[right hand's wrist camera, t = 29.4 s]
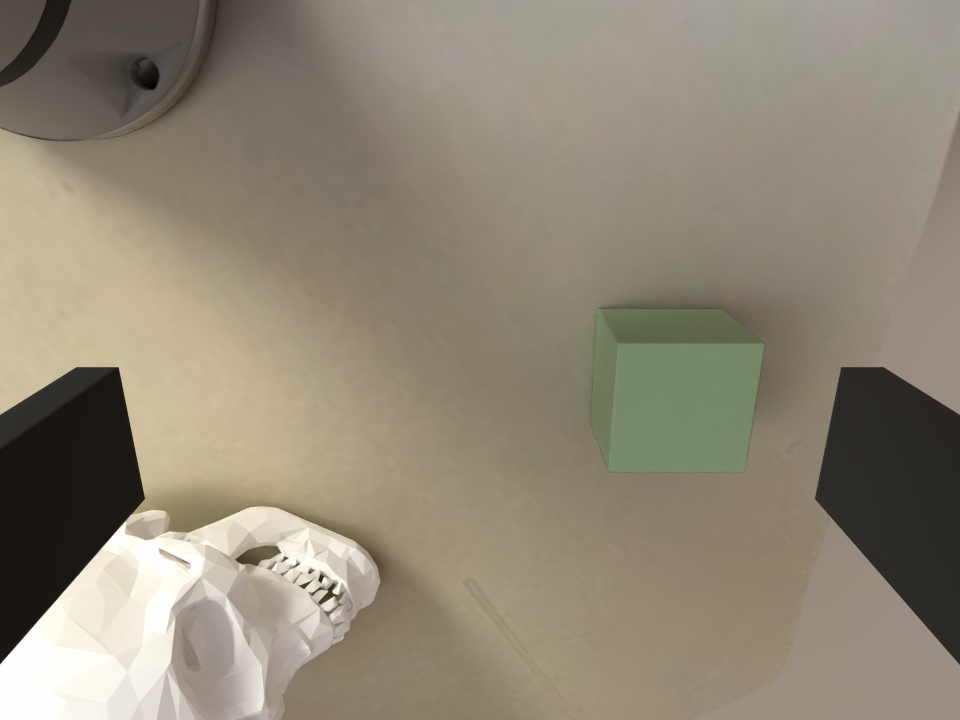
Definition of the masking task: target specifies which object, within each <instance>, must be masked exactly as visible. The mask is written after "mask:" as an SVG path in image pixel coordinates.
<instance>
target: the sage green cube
mask: <svg viewBox="0 0 960 720" xmlns="http://www.w3.org/2000/svg"><path fill="white" fill-rule="evenodd" d="M764 348H765V343H764V342H763V341H762V340H760V339H759V338H758V337H757V336H755V335H754V334H753V333H752V332H750V331H749V330H748V329H747V328H745V327H744V326H743V325H742V324H740V323H739V322H738V321H737V320H735V319H734V318H733V317H732V316H730V315H729V314H728V313H727V312H726V311H724V310H723V309H598V310H597V322H596V337H595V353H594V369H593V385H592V401H591V417H590V422H591V425H592V428H593V431H594V434H595V436H596V439H597V442H598V445H599V448H600V450H601V453H602V456H603V459H604V461H605V464H606V467H607V470H608V472H610V473H744V472H745V470H746V463H747V457H748V450H749V444H750V438H751V431H752V425H753V418H754V412H755V405H756V399H757V393H758V386H759V380H760V373H761V367H762V361H763V354H764Z"/></svg>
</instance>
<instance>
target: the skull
mask: <svg viewBox="0 0 960 720" xmlns="http://www.w3.org/2000/svg"><path fill="white" fill-rule="evenodd" d="M170 520H171V518H170V516H169V515H168V514H167V513H166V511H157V510H151V511H147V512H143V513H139V514H133V515H130V517H129V518H128V519H127V520H126V521H125V522H124V523H123V525H122V526H121V527H120V528H119V529H118V530H117V531H116V533H115V534H114V535H113V536H112V537H111V538H110V540H109V541H108V542H107V543H106V544H105V545H104V546H103V548H102V549H101V550H100V551H99V552H98V553H97V554H96V556H95V557H94V558H93V559H92V560H91V561H90V562H89V564H88V565H87V566H86V567H85V568H84V569H83V570H82V572H81V573H80V574H79V575H78V576H77V577H76V578H75V580H74V581H73V582H72V583H71V584H70V585H69V586H68V588H67V589H66V590H65V591H64V592H63V593H62V594H61V596H60V597H59V598H58V599H57V600H56V601H55V603H54V604H53V605H52V606H51V607H50V608H49V609H48V611H47V612H46V613H45V614H44V615H43V616H42V617H41V619H40V620H39V621H38V622H37V623H36V624H35V625H34V627H33V628H32V629H31V630H30V631H29V632H28V633H27V635H26V636H25V637H24V638H23V639H22V640H21V641H20V643H19V644H18V645H17V646H16V647H15V648H14V649H13V651H12V652H11V653H10V654H9V655H8V656H7V657H6V659H5V660H4V661H3V662H2V663H1V664H0V720H280V719H281V717H282V716H283V714H284V712H285V709H284V703H283V695H284V693H285V691H286V689H287V687H288V686H289V684H290V682H291V680H292V678H293V676H294V675H295V673H296V671H297V670H298V669H299V668H300V667H301V666H302V665H304V664H305V663H307V662H308V661H310V660H311V659H313V658H315V657H316V656H318V655H319V654H321V653H322V652H324V651H326V650H328V649H329V648H330V646H331V645H333V644H335V643H337V642H339V641H341V640H343V638H344V634H345V632H347V631H348V630H349V629H350V621H351V620H352V619H354V618H355V617H356V615H357V613H358V611H359V610H360V609H362V608H364V607H366V606H368V605H370V604H371V603H372V602H373V600H374V598H375V595H376V593H377V590H378V587H379V585H380V577H379V573H378V568H377V566H376V564H375V562H374V561H373V559H372V558H371V556H370V555H369V553H368V552H367V551H366V550H365V549H364V548H362V547H361V546H360V545H359V544H358V543H356V542H355V541H353V540H351V539H349V538H346V537H344V536H342V535H339V534H337V533H335V532H332V531H330V530H328V529H325V528H323V527H321V526H319V525H316V524H314V523H312V522H309V521H307V520H305V519H302V518H300V517H298V516H296V515H293V514H291V513H289V512H286V511H284V510H281V509H279V508H275V507H263V506H259V507H249V508H247V509H245V510H242V511H240V512H238V513H236V514H233V515H231V516H229V517H227V518H224V519H222V520H220V521H217V522H215V523H212V524H209V525H207V526H204V527H202V528H199V529H197V530H194V531H192V532H189V533H184V532H170V531H169V532H168V530H169V525H170ZM265 545H267V546H277V547H278V549H279V550H280V551H281V553H279V554H277V555H276V556H274V557H273V558H271V559H270V560H267V559H266V560H261V561H260V563H259V564H258V566H255V565H252V564H240V563H239V562H237V561H235V559H236V558H238V557H239V556H240V555H242V554H243V553H244V552H245V551H247V550H249V549H253V548H256V547H260V546H265ZM285 556H286V557H287V558H289V559H287V560H285V561H284V562H282V560H283V558H284V557H285ZM296 563H297V564H299V566H297V567H295V565H296ZM274 564H275V565H274ZM273 565H274V567H273ZM294 567H295V568H294ZM271 569H272V570H271ZM288 570H289V571H288ZM287 571H288V572H287ZM308 571H310V572H312V573H311V574H309V573H308ZM286 572H287V573H286ZM285 573H286V574H285ZM284 574H285V575H284ZM320 574H321V575H323V576H325V577H324V579H323V581H322V583H320V582H319V581H318V579H319V576H320ZM282 575H284V577H283V576H282ZM298 577H299V578H298ZM297 578H298V579H297ZM296 580H297V581H296ZM312 580H313V581H312ZM310 581H312V582H311V583H310V584H309V585H308V586H307V587H306V588H305V589H303V588H301V587H300V586H299V585H302V584H304V583H307V582H310ZM294 583H295V584H294ZM333 583H334V584H335V587H334V589H333V591H332V592H333V594H337V595H338V596H336V597H335V596H334V597H333V598H331V599H329V600H328V601H326V602H324V603H322V604H319V603H318V602H319V601H320V600H321V599H322V598H323V597H324V595H325V594H326V593H327V592H328V591H326V590H327V589H328V588H329V587H330V586H331V585H332V584H333ZM319 587H321V588H323V589H325V590H319V591H317V592H316V593H315V594H314V596H312V595H311V593H313V592H314V591H316V590H317V589H318V588H319ZM341 592H342V594H340V593H341ZM339 594H340V595H339Z"/></svg>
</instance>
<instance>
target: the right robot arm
mask: <svg viewBox="0 0 960 720" xmlns="http://www.w3.org/2000/svg"><path fill="white" fill-rule="evenodd" d="M216 5H217V0H0V128H1V129H4V130H7V131H10V132H13V133H16V134H19V135H23V136H27V137H31V138H36V139H43V140H50V141H79V140H95V139H105V138H111V137H116V136H119V135H123V134H127V133H130V132H132V131H135V130H137V129H139V128H142V127H144V126H145V125H147V124H149V123H151V122H153V121H154V120H156V119H157V118H159V117H160V116H161V115H163V114H164V113H165V112H167V111H168V110H169V109H170V108H171V107H172V106H173V105H174V104H175V103H176V102H177V101H178V100H179V99H180V98H181V97H182V96H183V94H184V93H185V92H186V91H187V89H188V88H189V86H190V85H191V84H192V82H193V81H194V79H195V77H196V75H197V73H198V72H199V70H200V68H201V66H202V63H203V61H204V59H205V56H206V54H207V51H208V48H209V44H210V41H211V38H212V33H213V28H214V23H215V14H216ZM144 499H145V497H144V492H143V487H142V482H141V477H140V472H139V467H138V462H137V457H136V452H135V447H134V442H133V437H132V432H131V427H130V422H129V417H128V412H127V407H126V402H125V397H124V392H123V387H122V382H121V377H120V372H119V367H76V368H75V369H73V370H71V371H70V372H68V373H67V374H65V375H63V376H62V377H60V378H59V379H57V380H55V381H54V382H52V383H51V384H49V385H47V386H46V387H44V388H43V389H41V390H39V391H38V392H36V393H35V394H33V395H31V396H30V397H28V398H27V399H25V400H23V401H22V402H20V403H19V404H17V405H15V406H14V407H12V408H11V409H9V410H7V411H6V412H4V413H3V414H1V415H0V664H1V663H2V662H3V661H4V660H5V659H6V657H7V656H8V655H9V654H10V653H11V652H12V651H13V649H14V648H15V647H16V646H17V645H18V644H19V643H20V641H21V640H22V639H23V638H24V637H25V636H26V635H27V633H28V632H29V631H30V630H31V629H32V628H33V627H34V625H35V624H36V623H37V622H38V621H39V620H40V619H41V617H42V616H43V615H44V614H45V613H46V612H47V611H48V609H49V608H50V607H51V606H52V605H53V604H54V603H55V601H56V600H57V599H58V598H59V597H60V596H61V594H62V593H63V592H64V591H65V590H66V589H67V588H68V586H69V585H70V584H71V583H72V582H73V581H74V580H75V578H76V577H77V576H78V575H79V574H80V573H81V572H82V570H83V569H84V568H85V567H86V566H87V565H88V564H89V562H90V561H91V560H92V559H93V558H94V557H95V556H96V554H97V553H98V552H99V551H100V550H101V549H102V548H103V546H104V545H105V544H106V543H107V542H108V541H109V540H110V538H111V537H112V536H113V535H114V534H115V533H116V531H117V530H118V529H119V528H120V527H121V526H122V525H123V523H124V522H125V521H126V520H127V519H128V518H129V517H130V515H131V514H132V513H133V512H134V511H135V510H136V509H137V507H138V506H139V505H140V504H141V503H142V502H143V501H144ZM815 499H816V501H817V502H818V503H819V504H820V505H821V506H822V507H823V509H824V510H825V511H826V512H827V513H828V514H829V515H830V517H831V518H832V519H833V520H834V521H835V522H836V523H837V525H838V526H839V527H840V528H841V529H842V530H843V531H844V533H845V534H846V535H847V536H848V537H849V538H850V539H851V541H852V542H853V543H854V544H855V545H856V546H857V548H858V549H859V550H860V551H861V552H862V553H863V554H864V556H865V557H866V558H867V559H868V560H869V561H870V562H871V564H872V565H873V566H874V567H875V568H876V569H877V570H878V572H879V573H880V574H881V575H882V576H883V577H884V578H885V580H886V581H887V582H888V583H889V584H890V585H891V586H892V588H893V589H894V590H895V591H896V592H897V593H898V594H899V596H900V597H901V598H902V599H903V600H904V601H905V603H906V604H907V605H908V606H909V607H910V608H911V609H912V611H913V612H914V613H915V614H916V615H917V616H918V617H919V619H920V620H921V621H922V622H923V623H924V624H925V625H926V626H927V628H928V629H929V630H930V631H931V632H932V633H933V635H934V636H935V637H936V638H937V639H938V640H939V641H940V643H941V644H942V645H943V646H944V647H945V648H946V649H947V651H948V652H949V653H950V654H951V655H952V656H953V657H954V659H955V660H956V661H957V662H958V663H959V664H960V415H959V414H957V413H956V412H954V411H953V410H951V409H949V408H948V407H946V406H945V405H943V404H941V403H940V402H938V401H937V400H935V399H933V398H932V397H930V396H929V395H927V394H925V393H924V392H922V391H921V390H919V389H917V388H916V387H914V386H912V385H911V384H909V383H908V382H906V381H905V380H903V379H901V378H900V377H898V376H897V375H895V374H893V373H892V372H890V371H889V370H887V369H885V368H884V367H841V372H840V377H839V382H838V387H837V392H836V397H835V402H834V407H833V412H832V417H831V422H830V427H829V432H828V437H827V442H826V447H825V452H824V457H823V462H822V467H821V472H820V477H819V482H818V487H817V492H816V497H815Z"/></svg>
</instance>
